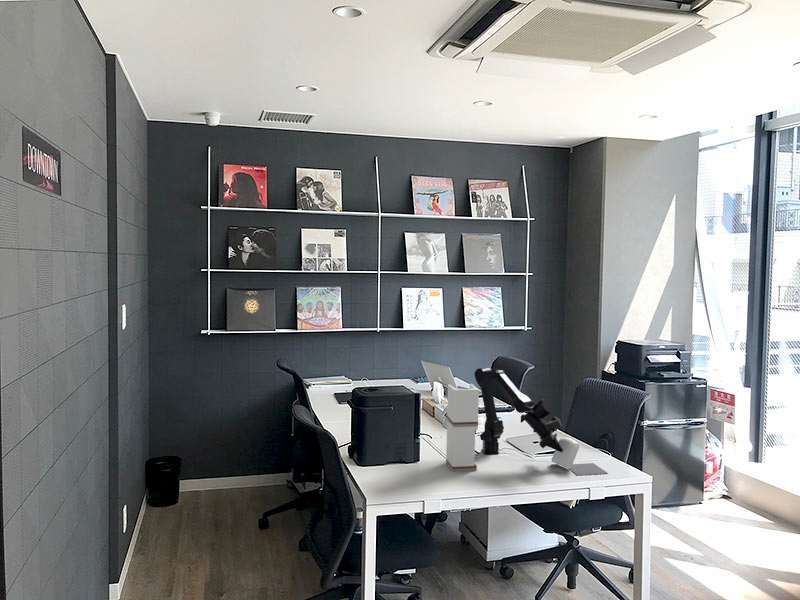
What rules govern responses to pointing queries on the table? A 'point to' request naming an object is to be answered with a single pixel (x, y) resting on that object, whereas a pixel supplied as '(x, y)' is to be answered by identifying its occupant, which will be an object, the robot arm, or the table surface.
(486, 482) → the table surface
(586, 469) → the mat
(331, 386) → the table surface
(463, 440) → the stacked white pillar
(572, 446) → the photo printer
